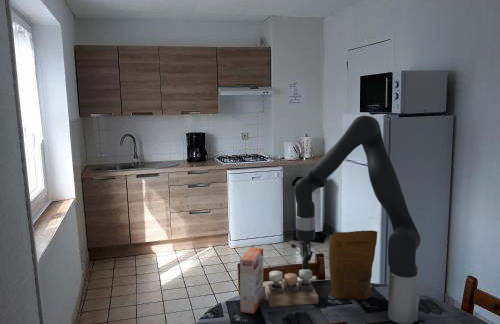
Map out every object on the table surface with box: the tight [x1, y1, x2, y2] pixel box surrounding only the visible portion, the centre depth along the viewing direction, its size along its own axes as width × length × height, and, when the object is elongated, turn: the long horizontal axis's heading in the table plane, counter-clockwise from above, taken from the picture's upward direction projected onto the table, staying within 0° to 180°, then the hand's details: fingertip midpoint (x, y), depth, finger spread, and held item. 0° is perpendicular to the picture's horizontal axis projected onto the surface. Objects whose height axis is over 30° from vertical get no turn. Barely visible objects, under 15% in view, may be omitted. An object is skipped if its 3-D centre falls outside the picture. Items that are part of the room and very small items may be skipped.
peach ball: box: [283, 272, 298, 287], centre depth 163 cm, size 5×5×5 cm
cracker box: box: [239, 247, 264, 315], centre depth 157 cm, size 14×6×21 cm, turn 164°
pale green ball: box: [298, 268, 313, 284], centre depth 163 cm, size 5×5×5 cm
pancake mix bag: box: [328, 230, 378, 300], centre depth 161 cm, size 7×19×28 cm, turn 86°
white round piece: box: [268, 270, 284, 286], centre depth 162 cm, size 5×5×5 cm
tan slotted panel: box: [264, 280, 319, 307], centre depth 163 cm, size 19×13×5 cm
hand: (305, 268), depth 163 cm, fingers closed
